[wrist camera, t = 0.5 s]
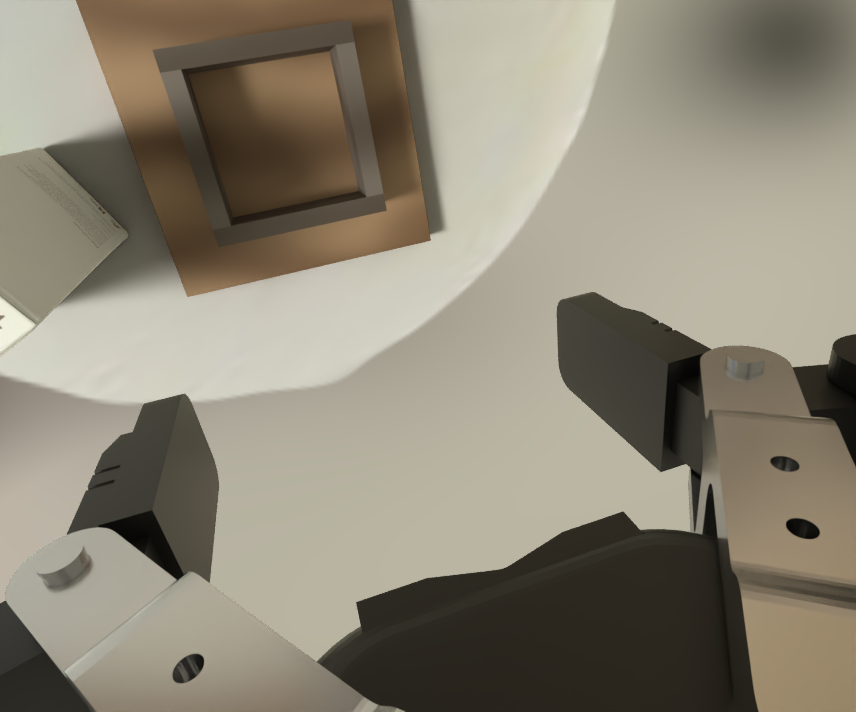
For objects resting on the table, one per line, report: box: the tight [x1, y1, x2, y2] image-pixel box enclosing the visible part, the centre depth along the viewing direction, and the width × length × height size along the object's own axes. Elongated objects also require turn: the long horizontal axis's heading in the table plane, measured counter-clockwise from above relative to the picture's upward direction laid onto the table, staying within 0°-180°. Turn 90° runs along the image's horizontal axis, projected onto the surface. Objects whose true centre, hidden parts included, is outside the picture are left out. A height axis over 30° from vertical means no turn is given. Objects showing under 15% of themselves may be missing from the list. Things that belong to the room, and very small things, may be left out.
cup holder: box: [76, 0, 431, 297], centre depth 31 cm, size 16×16×4 cm
